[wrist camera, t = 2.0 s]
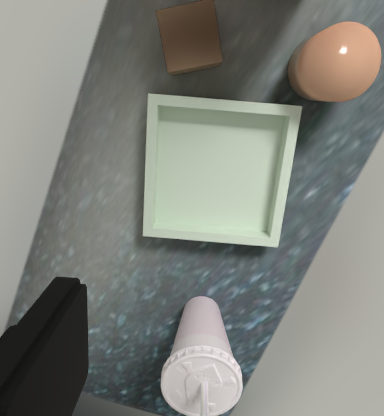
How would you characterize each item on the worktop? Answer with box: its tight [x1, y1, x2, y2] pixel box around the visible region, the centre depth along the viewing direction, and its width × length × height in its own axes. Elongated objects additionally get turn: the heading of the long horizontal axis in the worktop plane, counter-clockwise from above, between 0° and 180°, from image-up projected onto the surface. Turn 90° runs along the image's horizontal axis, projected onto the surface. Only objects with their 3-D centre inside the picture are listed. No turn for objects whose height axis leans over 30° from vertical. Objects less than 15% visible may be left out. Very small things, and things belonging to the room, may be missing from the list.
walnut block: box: [156, 0, 223, 75], centre depth 26 cm, size 4×4×4 cm
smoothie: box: [161, 296, 242, 416], centre depth 29 cm, size 6×6×14 cm
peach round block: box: [288, 22, 381, 102], centre depth 25 cm, size 5×5×5 cm
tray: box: [143, 93, 302, 247], centre depth 29 cm, size 12×12×2 cm
